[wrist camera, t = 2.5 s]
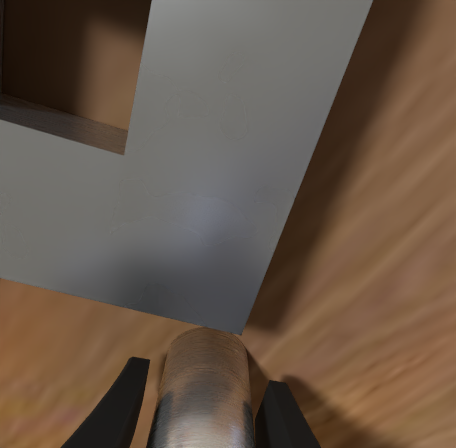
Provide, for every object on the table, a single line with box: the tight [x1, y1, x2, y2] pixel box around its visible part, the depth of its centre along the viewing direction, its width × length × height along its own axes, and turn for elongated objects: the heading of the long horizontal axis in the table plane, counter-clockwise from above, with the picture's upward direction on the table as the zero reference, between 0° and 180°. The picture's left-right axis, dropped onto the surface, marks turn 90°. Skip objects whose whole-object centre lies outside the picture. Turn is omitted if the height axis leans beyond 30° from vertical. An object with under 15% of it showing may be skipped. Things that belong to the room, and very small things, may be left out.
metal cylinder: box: [146, 327, 255, 448], centre depth 10 cm, size 3×3×6 cm
